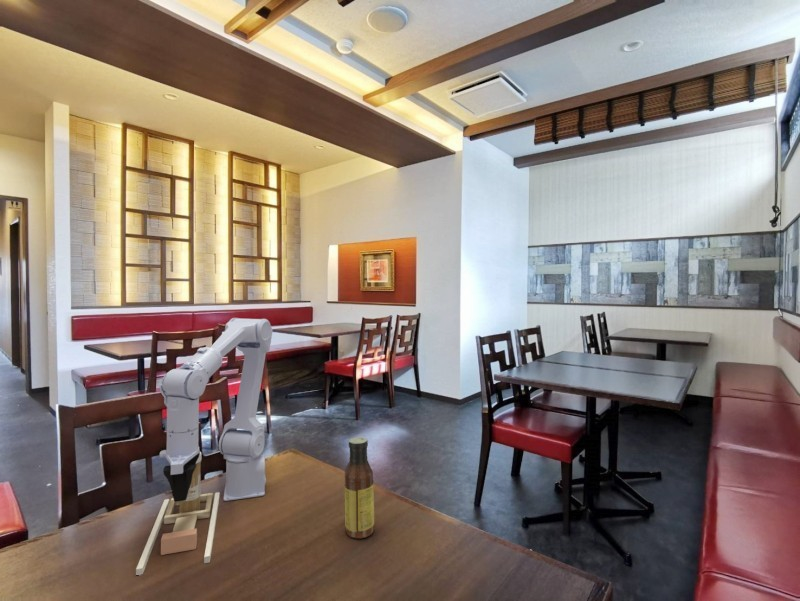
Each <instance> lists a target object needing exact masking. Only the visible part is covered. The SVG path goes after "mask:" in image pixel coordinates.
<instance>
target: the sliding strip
mask: <svg viewBox="0 0 800 601" xmlns="http://www.w3.org/2000/svg"><path fill="white" fill-rule="evenodd" d="M213 501H214V492H208V493H200V503H203V502H206V503H205V508H204V509H200V510H199V511H194V512H187V513H180V514H179V513H175V514H174V511H175V508H176V506H179V501H177V502H175V501H174V499H173V497H172V498H170V500H169V506H168V509H167V511H166V514H165V517H164V519H163V525H169V524H174V526H173V529H172V532H166V533H162V536H161V539H160V555H161V556H163V555H164V556H165V555H169V554H175V553H181V552H186V551H191V550H192V551H193V550H196V548H197V545H198V528H196V526H197V520H202V519H208V518H211V512H212V507H213Z"/></svg>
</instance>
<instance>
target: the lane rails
mask: <svg viewBox="0 0 800 601" xmlns="http://www.w3.org/2000/svg"><path fill="white" fill-rule="evenodd" d="M220 497H221V496H220V491H219V492H215V493H214V496H213V502H212V508H211V514H210V521H209V527H208V532H207V533H208V534H207V538H206V539H207V540H206V544H205V551H204V556H203V564H207V563H211V556H212V550H213V544H214V537H215V530H216V523H217V517H218V511H219V502H220ZM169 503H170V499H169V498H166V499H164V500H163V502H162V505H161V508H160V509H159V513H158V515H157V517H156V520H155V522H154V523H153V524H154V525H153V528H152V529H151V532H150V535H149V536H148V539H147V542H146V544H145V546H144V549H143V551H142V554H141V556H140V559H139V561H138V564H137V565H136V568H135V576H136V575H139V576H142V575H141V574H144V572H145V569H146V567H147V564H148V562H149V558H150V556H151V554H152V550H153V549H154V545H155V544H156V540H157V538H158V535H159V532H160V529H161V527H162V524H163V523H164V517H165V514H166V511H167V509H168V506H169Z"/></svg>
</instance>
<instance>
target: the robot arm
mask: <svg viewBox="0 0 800 601" xmlns="http://www.w3.org/2000/svg"><path fill="white" fill-rule="evenodd" d="M224 326H225V327H224V331H223V333H222V334H221V335H220V336H219V337H218V338H217V339H216V340H215V342H214V343H213V344H212V345H211V346H210V347H209V346H205V347H199V348H198V349H197V350H196V353H194V354H193V355H192V356H191V357H190V358H188V360H187V361H185V362H184V363H183V364H182V365H181V366H179V368H173V369H171V370H169V371H168V372H166V373H165V374H164V376H163V378H162V380H161V383H160V385H159V391H160V393H161V395H162V396H163V399H164V400H163V402H164V403H163V404H164V405H165V407H166V449H163V450H161V451H160V452H159V458H166V460H167V462H168V463H169V465H165V466H164V467H163V471H162V473H163V475H164V477H165V479H166V480H167V482H168V483H169V486H170V490H171V494H172V498H173V499H174V501H175V502H177V501H184V500H186V498H187V495H188V490H189V488H190V485H191V481H192V476H193V472H194V470H195V468H196V465H197V464H196V461H197V459H198V458H199V455H200V452H201V451H200V446H199V428H200V427H199V423H200V422H199V419H200V416H199V415H200V410H199V409H200V401H199V400H200V397H202V395H203V394H204V393H205V390H206V387H207V384H208V383H209V380H210V378H211V377H212V376H213V375H214V374H215V373H216V372H217V371H218V370H219V369H220V367H222V365H223V358H224V357H225V356H226V355H227V354H228V353H230V352H231V351H233V349H234V348H236V350H238V351H241V353H242V354H243V356H244V358H243V364H242V371H241V377H240V383H239V389H238V392H237V400H236V404H235V405H236V406H235V413H234V417H233V418H232V419H230V420H229V421H228V422H226V423H225V424H224V427H223V430H222V433H221V435H220V438H219V441H218V449H219V453H220V454H222V455H223V460H226V461H225V462H226V463H225V464H226V465H225V466H226V467H225V468H226V471H225V472H226V473H225V475H226V476H225V486H224V491H223V502H227V501H235V500H243V499H249V498H257V497H263V496H265V493H266V492H265V490H266V489H265V488H266V487H265V485H266V484H267V478H266V477H267V476H266V457H265V456H266V455H265V454H262V452H264V447H265V443H266V442H265V441H266V439H265V428H266V427H265V426H264V424H262V422H260V421H259V420H258V419H257V413H258V405H259V399H260V394H261V387H262V379H263V374H264V367H265V363H266V362H265V360H266V356H267V355H266V354H267V353H268V352H269V351H270V349H271V343H272V337H273V328H272V325H271V322H270V321H269V320H268V319H267V318H241V317H240V318H239V317H232V318H230V319H229V321H227V323H225V325H224ZM199 451H200V452H199Z"/></svg>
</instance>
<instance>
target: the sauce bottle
mask: <svg viewBox="0 0 800 601" xmlns="http://www.w3.org/2000/svg"><path fill="white" fill-rule="evenodd" d="M368 441H369V440H368V438H366V437H363V436H356V437H355V436H354V437H352V438H350V439H349V440H348V448H349V458H348V459H349V462H348V463H347V465H346V467H345V469H344V484H343V486H344V520H345V521H344V523H345V524H344V525H345V531H346V534H347V535H348V536H349V537H350V538H353V539H364V538H368V537H369V536H371V535H373V533H374V531H375V530H374V529H375V491H374V490H375V486H374V474H373V473H374V472H373V470H372V468H371V466H370V463H369V460H368V459H369V458H368V446H369V442H368Z"/></svg>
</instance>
